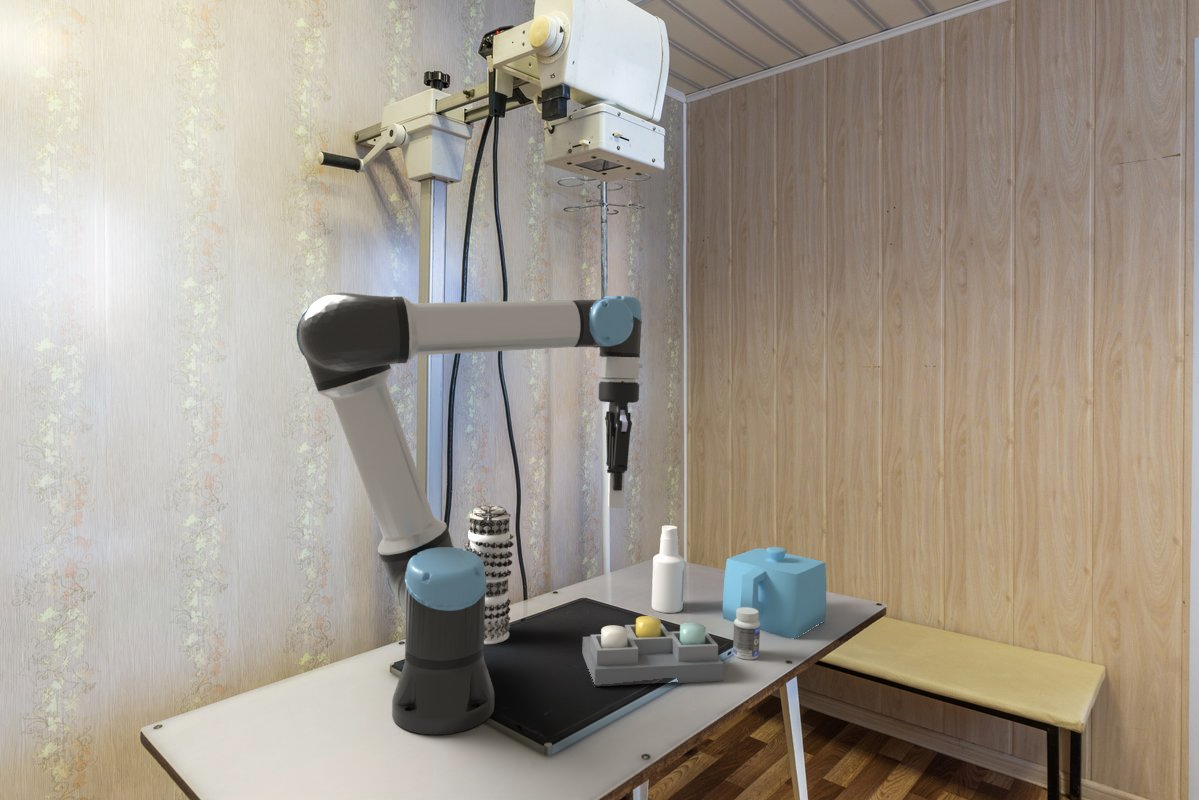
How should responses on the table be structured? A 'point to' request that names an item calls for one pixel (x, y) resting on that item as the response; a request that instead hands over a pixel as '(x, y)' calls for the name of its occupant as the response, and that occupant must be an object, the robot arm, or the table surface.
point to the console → (652, 659)
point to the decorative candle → (493, 566)
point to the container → (776, 590)
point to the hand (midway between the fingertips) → (615, 506)
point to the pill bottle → (746, 633)
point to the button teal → (692, 634)
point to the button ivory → (613, 637)
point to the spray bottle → (668, 574)
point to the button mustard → (648, 627)
